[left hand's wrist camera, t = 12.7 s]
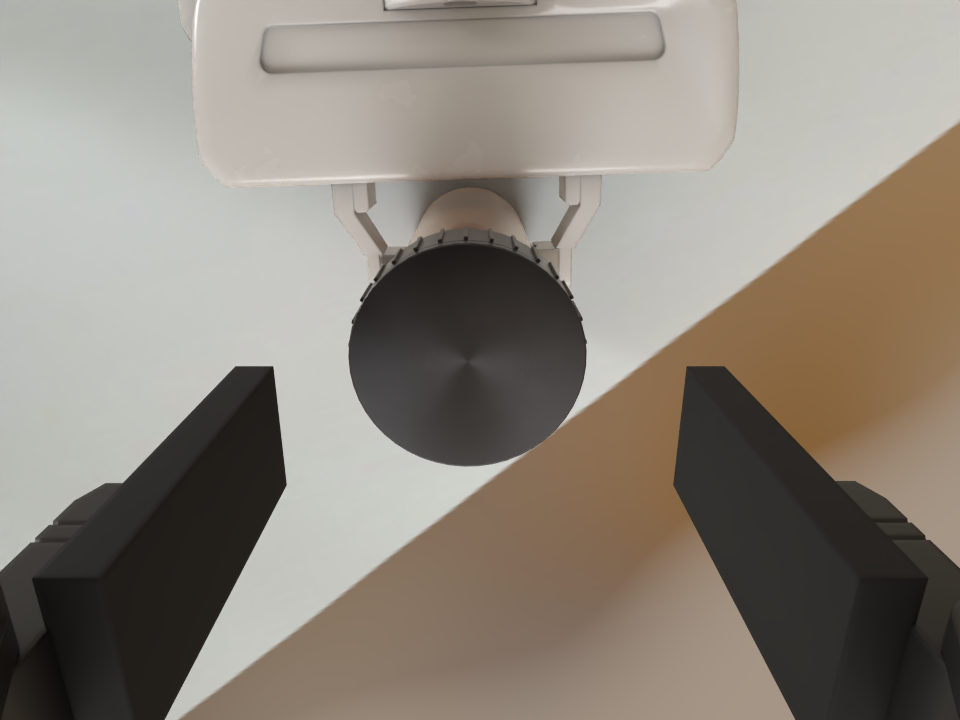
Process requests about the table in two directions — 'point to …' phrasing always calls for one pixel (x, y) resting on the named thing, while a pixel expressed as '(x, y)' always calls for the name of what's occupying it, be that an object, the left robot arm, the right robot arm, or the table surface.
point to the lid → (467, 348)
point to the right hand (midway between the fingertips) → (472, 289)
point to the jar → (471, 214)
